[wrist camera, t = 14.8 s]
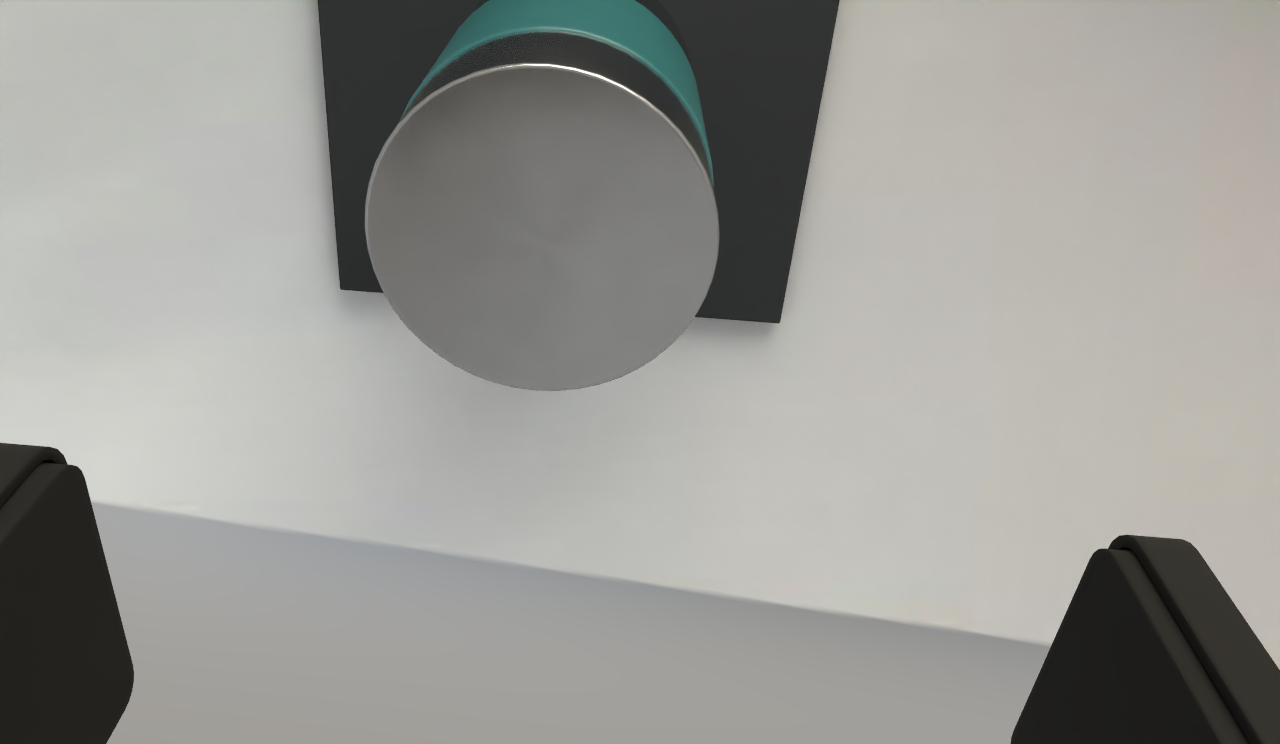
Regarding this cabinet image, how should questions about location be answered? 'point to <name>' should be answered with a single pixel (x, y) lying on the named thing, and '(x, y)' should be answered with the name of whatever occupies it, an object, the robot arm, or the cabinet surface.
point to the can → (549, 194)
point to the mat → (730, 101)
